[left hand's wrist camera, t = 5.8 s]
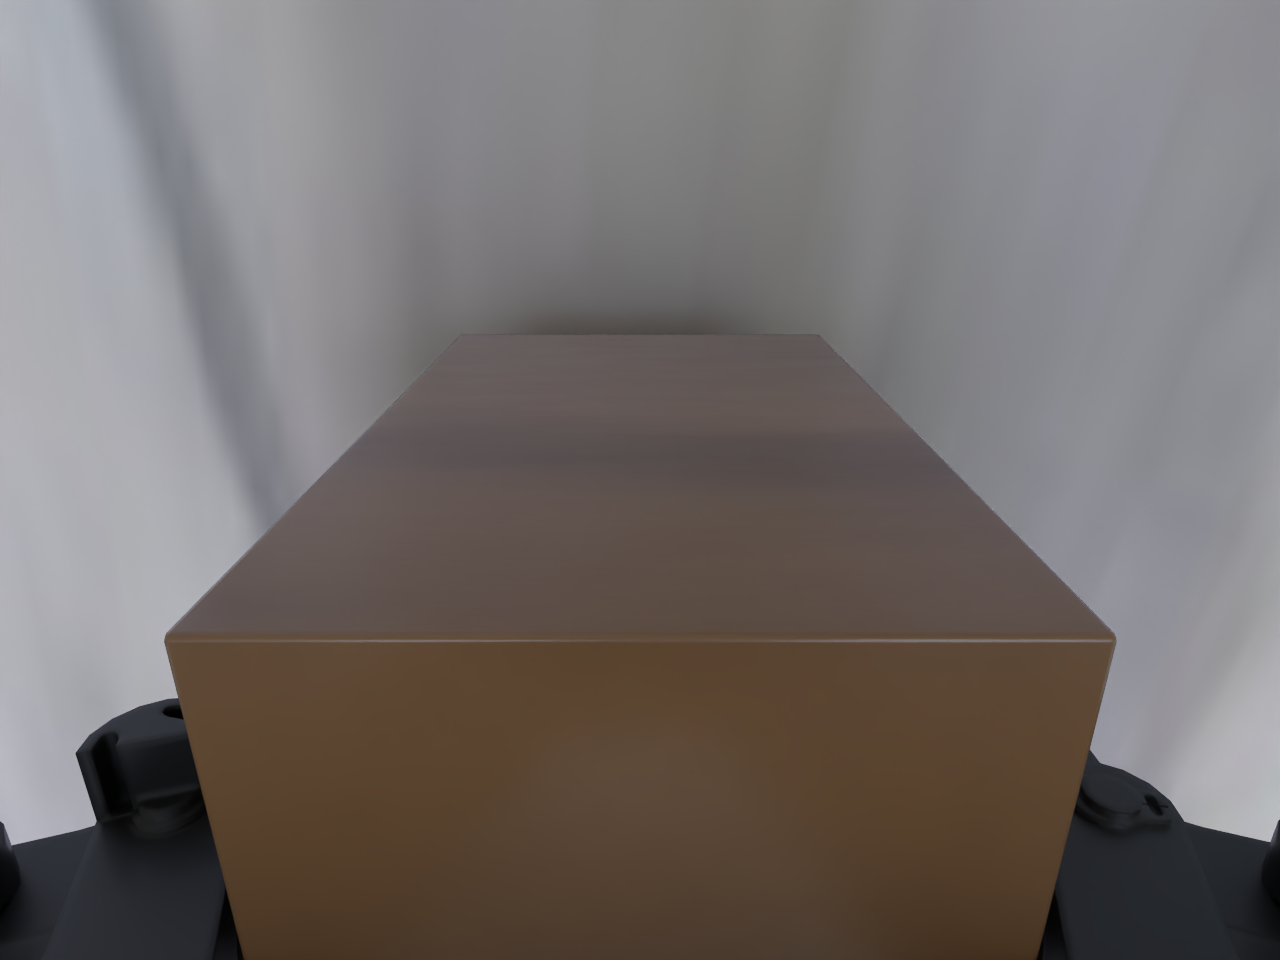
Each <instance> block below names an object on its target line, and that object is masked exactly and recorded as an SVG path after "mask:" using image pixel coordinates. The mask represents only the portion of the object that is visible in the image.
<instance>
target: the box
mask: <svg viewBox="0 0 1280 960" xmlns="http://www.w3.org/2000/svg"><path fill="white" fill-rule="evenodd" d="M164 642H165V646H166V650H167V654H168V658H169V662H170V666H171V670H172V674H173V678H174V682H175V686H176V690H177V694H178V698H179V702H180V706H181V710H182V714H183V718H184V722H185V726H186V730H187V734H188V738H189V742H190V746H191V750H192V754H193V758H194V762H195V766H196V770H197V774H198V778H199V782H200V786H201V790H202V794H203V798H204V802H205V806H206V810H207V814H208V818H209V822H210V826H211V830H212V834H213V838H214V842H215V846H216V850H217V854H218V858H219V862H220V866H221V870H222V874H223V878H224V882H225V886H226V890H227V894H228V898H229V902H230V906H231V910H232V914H233V918H234V922H235V926H236V930H237V934H238V938H239V942H240V946H241V950H242V954H243V958H244V960H1037V957H1038V953H1039V949H1040V945H1041V941H1042V937H1043V933H1044V929H1045V925H1046V921H1047V917H1048V913H1049V909H1050V905H1051V901H1052V897H1053V893H1054V889H1055V885H1056V881H1057V877H1058V873H1059V869H1060V865H1061V861H1062V857H1063V853H1064V849H1065V845H1066V841H1067V837H1068V833H1069V829H1070V825H1071V821H1072V817H1073V813H1074V809H1075V805H1076V801H1077V797H1078V793H1079V789H1080V785H1081V781H1082V777H1083V773H1084V769H1085V765H1086V761H1087V757H1088V753H1089V749H1090V745H1091V741H1092V737H1093V733H1094V729H1095V725H1096V721H1097V717H1098V713H1099V709H1100V705H1101V701H1102V697H1103V693H1104V689H1105V685H1106V681H1107V677H1108V673H1109V669H1110V665H1111V661H1112V657H1113V653H1114V649H1115V645H1116V637H1115V634H1114V633H1113V632H1112V631H1111V630H1110V629H1109V628H1108V627H1107V626H1106V625H1105V623H1104V622H1103V621H1102V620H1101V619H1100V618H1099V617H1098V616H1097V615H1096V614H1095V613H1094V612H1093V611H1092V610H1091V609H1090V608H1089V607H1088V606H1087V605H1086V604H1085V603H1084V602H1083V601H1082V600H1081V599H1080V598H1079V597H1078V596H1077V595H1076V594H1075V593H1074V592H1073V591H1072V590H1071V589H1070V588H1069V587H1068V586H1067V585H1066V584H1065V583H1064V582H1063V581H1062V580H1061V579H1060V578H1059V577H1058V576H1057V575H1056V574H1055V573H1054V572H1053V571H1052V570H1051V569H1050V568H1049V567H1048V566H1047V565H1046V564H1045V563H1044V562H1043V561H1042V560H1041V559H1040V558H1039V557H1038V556H1037V555H1036V554H1035V553H1034V552H1033V551H1032V550H1031V549H1030V548H1029V547H1028V546H1027V545H1026V544H1025V543H1024V542H1023V541H1022V540H1021V539H1020V538H1019V537H1018V535H1017V534H1016V533H1015V532H1014V531H1013V530H1012V529H1011V528H1010V527H1009V526H1008V525H1007V524H1006V523H1005V522H1004V521H1003V520H1002V519H1001V518H1000V517H999V516H998V515H997V514H996V513H995V512H994V511H993V510H992V509H991V508H990V507H989V506H988V505H987V504H986V503H985V502H984V501H983V500H982V499H981V498H980V497H979V496H978V495H977V494H976V493H975V492H974V491H973V490H972V489H971V488H970V487H969V486H968V485H967V484H966V483H965V482H964V481H963V480H962V479H961V478H960V477H959V476H958V475H957V474H956V473H955V472H954V471H953V470H952V469H951V468H950V467H949V466H948V465H947V464H946V463H945V462H944V461H943V460H942V459H941V458H940V457H939V456H938V455H937V454H936V453H935V452H934V451H933V450H932V448H931V447H930V446H929V445H928V444H927V443H926V442H925V441H924V440H923V439H922V438H921V437H920V436H919V435H918V434H917V433H916V432H915V431H914V430H913V429H912V428H911V427H910V426H909V425H908V424H907V423H906V422H905V421H904V420H903V419H902V418H901V417H900V416H899V415H898V414H897V413H896V412H895V411H894V410H893V409H892V408H891V407H890V406H889V405H888V404H887V403H886V402H885V401H884V400H883V399H882V398H881V397H880V396H879V395H878V394H877V393H876V392H875V391H874V390H873V389H872V388H871V387H870V386H869V385H868V384H867V383H866V382H865V381H864V380H863V379H862V378H861V377H860V376H859V375H858V374H857V373H856V372H855V371H854V370H853V369H852V368H851V367H850V366H849V365H848V364H847V363H846V362H845V360H844V359H843V358H842V357H841V356H840V355H839V354H838V353H837V352H836V351H835V350H834V349H833V348H832V347H831V346H830V345H829V344H828V343H827V342H826V341H825V340H824V339H823V338H822V337H821V336H820V335H461V336H460V337H459V338H458V339H457V340H456V341H455V342H454V343H453V344H452V345H451V346H450V347H449V348H448V349H447V350H446V351H445V352H444V353H443V354H442V355H441V356H440V357H439V358H438V359H437V360H436V361H435V362H434V363H433V364H432V365H431V366H430V367H429V368H428V369H427V370H426V371H425V372H424V373H423V374H422V375H421V376H420V377H419V378H418V379H417V380H416V381H415V382H414V383H413V384H412V385H411V386H410V387H409V388H408V389H407V390H406V391H405V392H404V393H403V394H402V395H401V396H400V398H399V399H398V400H397V401H396V402H395V403H394V404H393V405H392V406H391V407H390V408H389V409H388V410H387V411H386V412H385V413H384V414H383V415H382V416H381V417H380V418H379V419H378V420H377V421H376V422H375V423H374V424H373V425H372V426H371V427H370V428H369V429H368V430H367V431H366V432H365V433H364V434H363V435H362V436H361V437H360V438H359V439H358V440H357V441H356V442H355V443H354V444H353V445H352V446H351V447H350V448H349V449H348V450H347V451H346V452H345V453H344V454H343V455H342V456H341V457H340V458H339V459H338V460H337V461H336V462H335V463H334V464H333V465H332V466H331V467H330V468H329V469H328V470H327V471H326V472H325V473H324V474H323V475H322V476H321V477H320V478H319V479H318V480H317V481H316V482H315V483H314V484H313V485H312V486H311V488H310V489H309V490H308V491H307V492H306V493H305V494H304V495H303V496H302V497H301V498H300V499H299V500H298V501H297V502H296V503H295V504H294V505H293V506H292V507H291V508H290V509H289V510H288V511H287V512H286V513H285V514H284V515H283V516H282V517H281V518H280V519H279V520H278V521H277V522H276V523H275V524H274V525H273V526H272V527H271V528H270V529H269V530H268V531H267V532H266V533H265V534H264V535H263V536H262V537H261V538H260V539H259V540H258V541H257V542H256V543H255V544H254V545H253V546H252V547H251V548H250V549H249V550H248V551H247V552H246V553H245V554H244V555H243V556H242V557H241V558H240V559H239V560H238V561H237V562H236V563H235V564H234V565H233V566H232V567H231V568H230V569H229V570H228V571H227V572H226V573H225V574H224V575H223V577H222V578H221V579H220V580H219V581H218V582H217V583H216V584H215V585H214V586H213V587H212V588H211V589H210V590H209V591H208V592H207V593H206V594H205V595H204V596H203V597H202V598H201V599H200V600H199V601H198V602H197V603H196V604H195V605H194V606H193V607H192V608H191V609H190V610H189V611H188V612H187V613H186V614H185V615H184V616H183V617H182V618H181V619H180V620H179V621H178V622H177V623H176V624H175V625H174V626H173V627H172V628H171V629H170V630H169V631H168V632H167V633H166V636H165V641H164Z"/></svg>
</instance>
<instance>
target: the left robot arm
mask: <svg viewBox="0 0 1280 960" xmlns="http://www.w3.org/2000/svg"><path fill="white" fill-rule="evenodd" d="M76 756H77V760H78V763H79V766H80V769H81V772H82V775H83V779H84V782H85V785H86V788H87V791H88V794H89V798H90V801H91V804H92V807H93V810H94V813H95V817H96V820H97V822H96V824H95V826H92V827H88V828H85V829H82V830H78V831H74V832H69V833H65V834H61V835H56V836H52V837H47V838H43V839H39V840H34V841H30V842H25V843H21V844H16V845H12V846H11V843H10V840H9V838H8V835H7V832H6V829H5V827H4V824H3V823H1V822H0V960H244V958H243V954H242V950H241V946H240V942H239V938H238V934H237V930H236V926H235V922H234V918H233V914H232V910H231V906H230V902H229V898H228V894H227V890H226V886H225V882H224V878H223V874H222V870H221V866H220V862H219V858H218V854H217V850H216V846H215V842H214V838H213V834H212V830H211V826H210V822H209V818H208V814H207V810H206V806H205V802H204V798H203V794H202V790H201V786H200V782H199V778H198V774H197V770H196V766H195V762H194V758H193V754H192V750H191V746H190V742H189V738H188V734H187V730H186V726H185V722H184V718H183V714H182V710H181V706H180V702H179V698H176V699H166V700H162V701H159V702H155V703H151V704H147V705H143V706H140V707H137V708H135V709H133V710H131V711H129V712H126V713H124V714H122V715H120V716H118V717H115V718H113V719H111V720H110V721H109V722H107V723H106V724H105V725H103V726H102V727H100V728H99V729H98V730H96V731H95V732H93V733H92V734H91V735H89V737H88V738H87V739H86V740H85V742H84V743H83V744H82V746H81V747H80V748H79V749H78V751H77V752H76ZM1037 960H1280V820H1279V821H1278V824H1277V826H1276V829H1275V832H1274V834H1273V837H1272V840H1271V842H1266V841H1262V840H1257V839H1253V838H1248V837H1244V836H1239V835H1235V834H1231V833H1226V832H1222V831H1217V830H1213V829H1208V828H1204V827H1200V826H1197V825H1194V824H1190V823H1187V822H1184V820H1183V819H1182V817H1181V816H1180V814H1179V813H1178V811H1177V810H1176V808H1175V807H1174V805H1173V804H1172V802H1171V801H1170V800H1169V799H1167V798H1166V797H1165V796H1164V795H1163V794H1161V793H1160V792H1159V791H1158V790H1157V789H1155V788H1154V787H1153V786H1152V785H1150V784H1149V783H1147V782H1145V781H1143V780H1141V779H1139V778H1138V777H1136V776H1134V775H1132V774H1130V773H1128V772H1126V771H1124V770H1121V769H1118V768H1115V767H1111V766H1108V765H1104V764H1101V763H1099V761H1098V760H1097V759H1096V757H1095V756H1094V755H1093V753H1092V752H1091V751H1090V749H1089V753H1088V757H1087V761H1086V765H1085V769H1084V773H1083V777H1082V781H1081V785H1080V789H1079V793H1078V797H1077V801H1076V805H1075V809H1074V813H1073V817H1072V821H1071V825H1070V829H1069V833H1068V837H1067V841H1066V845H1065V849H1064V853H1063V857H1062V861H1061V865H1060V869H1059V873H1058V877H1057V881H1056V885H1055V889H1054V893H1053V897H1052V901H1051V905H1050V909H1049V913H1048V917H1047V921H1046V925H1045V929H1044V933H1043V937H1042V941H1041V945H1040V949H1039V953H1038V957H1037Z"/></svg>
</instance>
